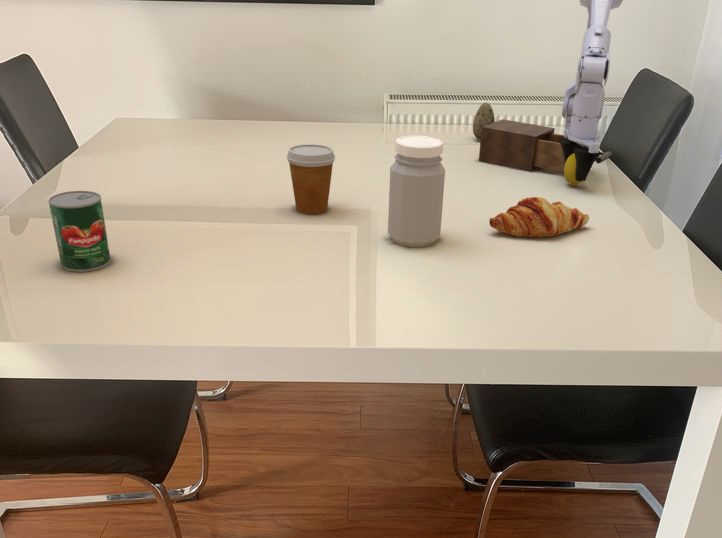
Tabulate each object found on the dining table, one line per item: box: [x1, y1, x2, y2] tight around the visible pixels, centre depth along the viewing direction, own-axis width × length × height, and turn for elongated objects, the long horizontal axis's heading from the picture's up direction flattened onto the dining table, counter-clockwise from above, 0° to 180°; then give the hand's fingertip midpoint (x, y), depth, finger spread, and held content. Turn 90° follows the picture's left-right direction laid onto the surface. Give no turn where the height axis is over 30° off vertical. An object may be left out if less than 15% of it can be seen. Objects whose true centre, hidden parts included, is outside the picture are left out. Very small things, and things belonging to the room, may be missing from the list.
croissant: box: [488, 196, 590, 238], centre depth 145 cm, size 21×10×8 cm, turn 108°
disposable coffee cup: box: [286, 143, 336, 215], centre depth 150 cm, size 10×10×12 cm
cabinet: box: [478, 118, 556, 173], centre depth 187 cm, size 14×11×8 cm
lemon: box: [563, 153, 584, 187], centre depth 171 cm, size 6×6×8 cm
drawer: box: [533, 132, 613, 173], centre depth 181 cm, size 18×10×7 cm, turn 56°
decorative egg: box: [472, 102, 496, 142], centre depth 204 cm, size 6×6×10 cm
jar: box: [387, 135, 446, 248], centre depth 136 cm, size 10×10×18 cm
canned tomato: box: [48, 190, 112, 273], centre depth 123 cm, size 8×8×11 cm
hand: (575, 176), depth 172 cm, fingers closed on lemon, 5 cm apart
